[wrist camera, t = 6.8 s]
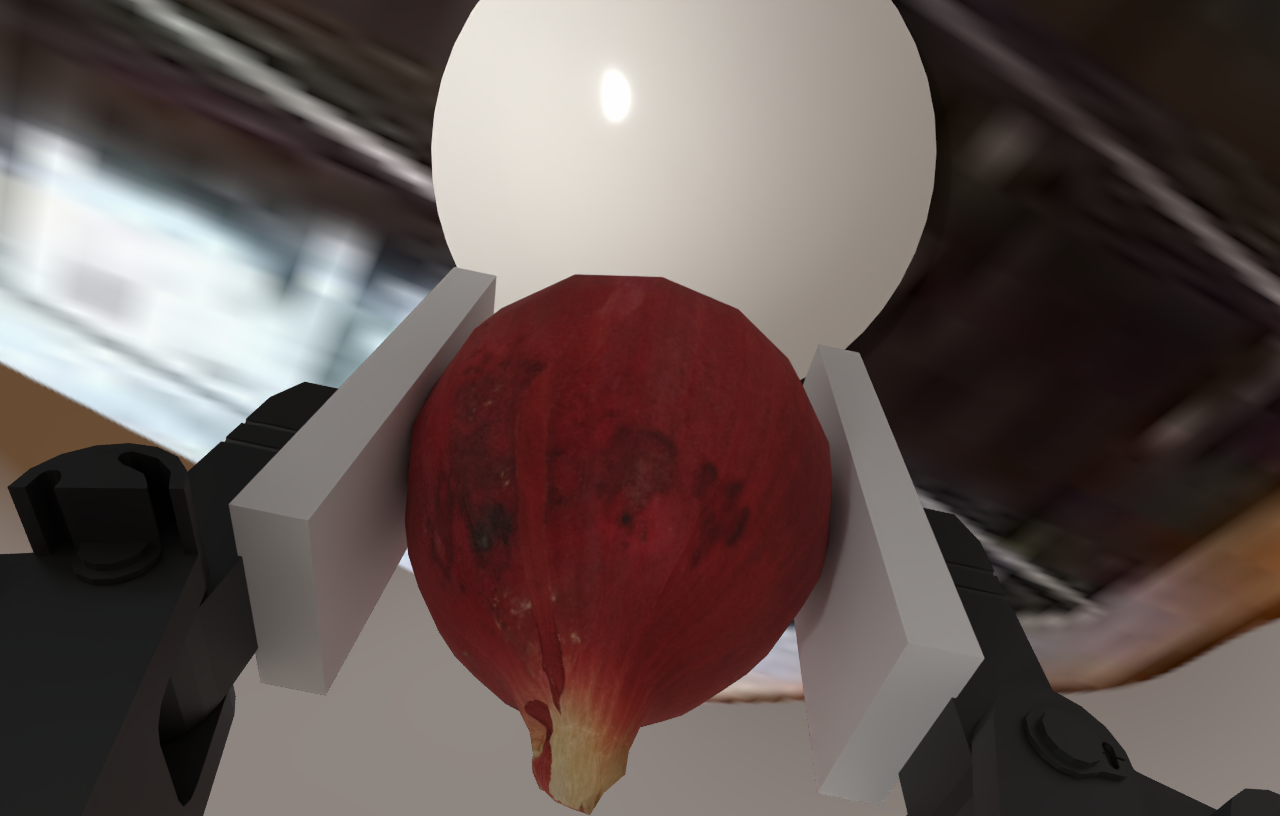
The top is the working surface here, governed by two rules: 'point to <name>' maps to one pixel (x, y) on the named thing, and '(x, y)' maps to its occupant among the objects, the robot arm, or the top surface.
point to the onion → (614, 512)
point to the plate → (691, 153)
